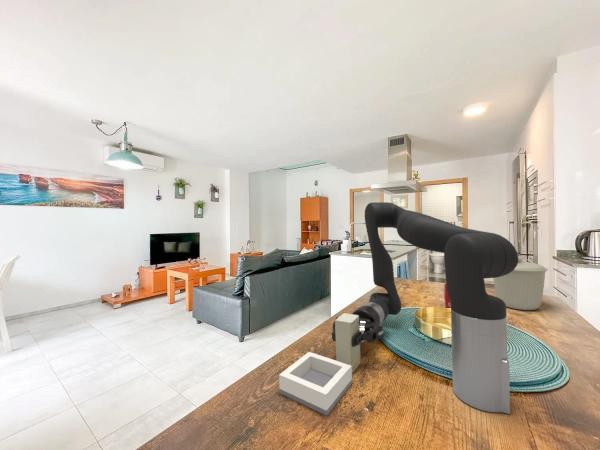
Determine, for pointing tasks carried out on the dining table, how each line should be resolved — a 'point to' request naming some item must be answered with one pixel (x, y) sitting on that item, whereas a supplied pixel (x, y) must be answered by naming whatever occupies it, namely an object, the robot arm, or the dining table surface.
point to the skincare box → (347, 340)
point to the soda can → (446, 298)
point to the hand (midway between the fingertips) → (343, 339)
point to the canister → (522, 286)
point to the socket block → (316, 382)
